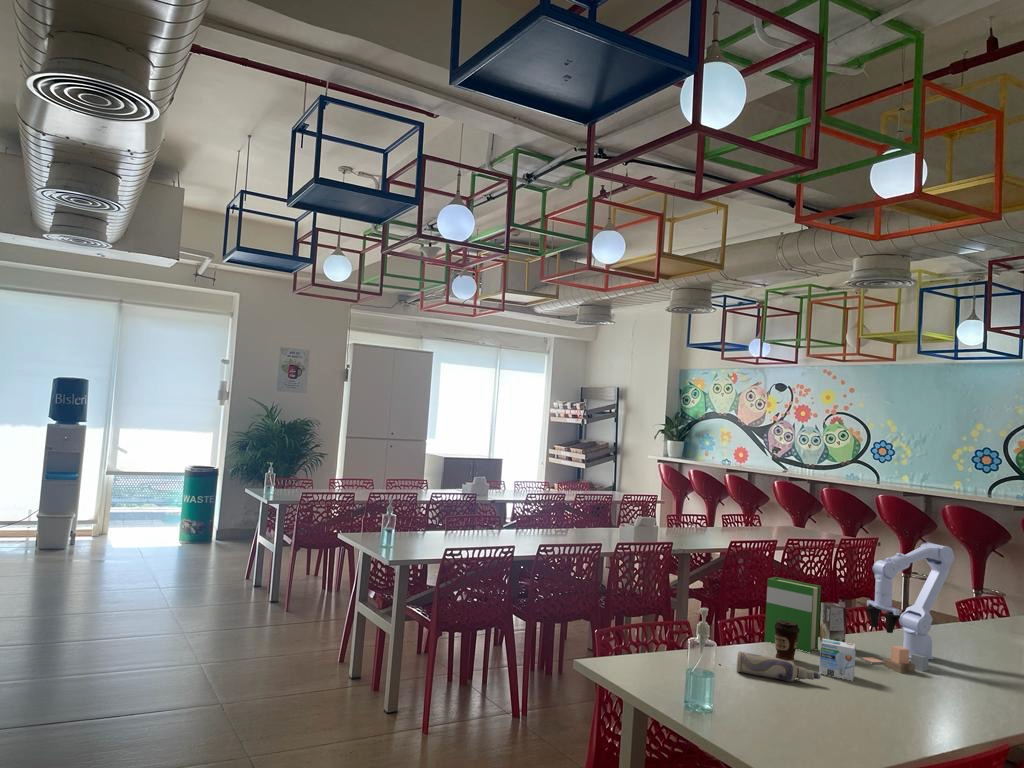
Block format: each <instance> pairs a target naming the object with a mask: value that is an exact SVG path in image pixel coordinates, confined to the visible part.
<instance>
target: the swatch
mask: <svg viewBox="0 0 1024 768" xmlns="http://www.w3.org/2000/svg"><path fill="white" fill-rule="evenodd" d="M859 658H860V659H859ZM857 659H859V660H861V659H862V661H863V660H865V661H864V662H866V661H867V662H866V663H868V662H869V663H868V664H870V663H872V664H871V665H884V660H881V659H880V658H877V657H876V656H875V657H874V656H865V657H864V656H858V657H857Z"/></svg>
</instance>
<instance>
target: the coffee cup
mask: <svg viewBox="0 0 1024 768" xmlns="http://www.w3.org/2000/svg"><path fill="white" fill-rule="evenodd" d="M774 627H775V644H774V646H775V650H776V654H775V658H777V659H783V660H788V661H793V662H795V661H794V660H795V654H796V651H797V650H796V647H797V642H798V634H799V632H800V629H799V628H798V624H796V623H794V622H789V621H783V620H778V621H777V622H776V624H775V625H774Z"/></svg>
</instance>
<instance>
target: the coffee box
mask: <svg viewBox="0 0 1024 768" xmlns="http://www.w3.org/2000/svg"><path fill="white" fill-rule="evenodd" d="M846 624H847V607H845V606H843V605H841V604H840V603H837V602H821V601H820V619H819V644H820V643H821V642H822V640H823V638H824V639H829V640H834V641H840V642H845V643H846V627H847V625H846Z"/></svg>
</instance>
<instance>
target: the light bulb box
mask: <svg viewBox="0 0 1024 768" xmlns="http://www.w3.org/2000/svg"><path fill="white" fill-rule="evenodd" d="M819 653H820V654H819V666H818V667H819V670H818V671H819V673H818V674H819V675H821V674H824V675H823V676H826V675H828V676H827V677H831V676H832V678H835V677H837V678H836V679H840V678H842V679H841V680H844V679H847V680H846V681H849V680H851V681H850V682H853V681H854V678H855V666H856V665H855V663H856V644H855V643H849V642H846V641H845V642H840V641H834V640H829V639H824V638H823V640H822V642H821V644H820V652H819Z"/></svg>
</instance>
